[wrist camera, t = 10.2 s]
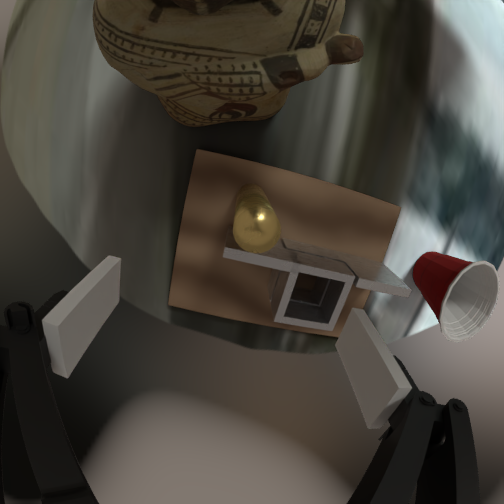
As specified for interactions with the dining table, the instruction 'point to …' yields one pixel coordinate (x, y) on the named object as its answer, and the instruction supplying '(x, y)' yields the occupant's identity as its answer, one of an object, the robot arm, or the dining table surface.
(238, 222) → the pin
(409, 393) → the robot arm
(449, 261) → the plastic cup
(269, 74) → the ceramic vessel
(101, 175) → the dining table surface
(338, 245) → the board
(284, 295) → the flanged square frame
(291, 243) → the fixed leaf
